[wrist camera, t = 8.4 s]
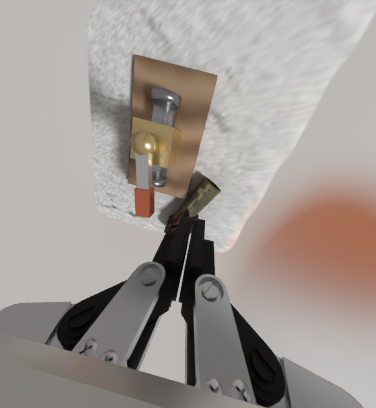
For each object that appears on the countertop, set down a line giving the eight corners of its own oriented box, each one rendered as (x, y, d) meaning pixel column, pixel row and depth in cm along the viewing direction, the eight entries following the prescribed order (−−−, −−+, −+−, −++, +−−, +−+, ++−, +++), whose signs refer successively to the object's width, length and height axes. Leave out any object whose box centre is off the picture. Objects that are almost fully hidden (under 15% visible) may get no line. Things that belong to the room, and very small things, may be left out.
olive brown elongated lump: (205, 174, 32) (204, 180, 27) (225, 192, 33) (229, 201, 28) (164, 222, 39) (157, 233, 34) (182, 235, 40) (178, 249, 35)
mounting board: (138, 59, 25) (134, 54, 24) (216, 79, 25) (217, 75, 23) (130, 181, 35) (127, 183, 34) (186, 197, 35) (185, 199, 33)
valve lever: (140, 131, 22) (129, 129, 19) (159, 133, 22) (151, 132, 19) (142, 207, 27) (134, 215, 24) (157, 210, 27) (151, 218, 24)
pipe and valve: (154, 94, 26) (135, 76, 19) (188, 103, 26) (180, 88, 19) (145, 176, 33) (128, 184, 26) (172, 183, 33) (162, 193, 26)
